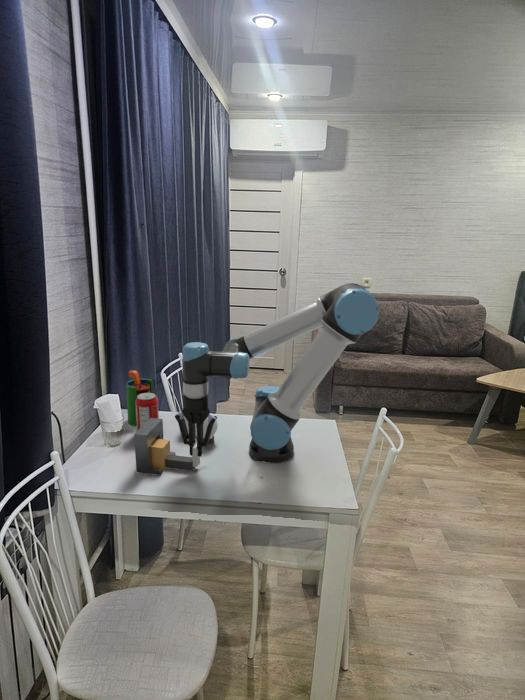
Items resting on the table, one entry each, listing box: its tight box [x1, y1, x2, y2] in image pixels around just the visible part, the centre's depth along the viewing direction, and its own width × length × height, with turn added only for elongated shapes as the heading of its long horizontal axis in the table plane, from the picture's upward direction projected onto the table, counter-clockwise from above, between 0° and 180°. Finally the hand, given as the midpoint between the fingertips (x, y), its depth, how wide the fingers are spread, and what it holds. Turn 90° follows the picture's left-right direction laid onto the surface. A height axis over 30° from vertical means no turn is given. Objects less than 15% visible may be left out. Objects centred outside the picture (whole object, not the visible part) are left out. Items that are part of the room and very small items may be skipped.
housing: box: [133, 418, 176, 476], centre depth 139 cm, size 8×12×13 cm, turn 169°
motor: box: [125, 369, 154, 427], centre depth 169 cm, size 10×9×20 cm
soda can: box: [135, 393, 160, 432], centre depth 159 cm, size 8×8×15 cm
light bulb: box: [203, 412, 219, 445], centre depth 155 cm, size 7×7×11 cm
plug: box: [151, 438, 196, 472], centre depth 139 cm, size 17×6×8 cm, turn 79°
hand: (196, 464), depth 138 cm, fingers closed
